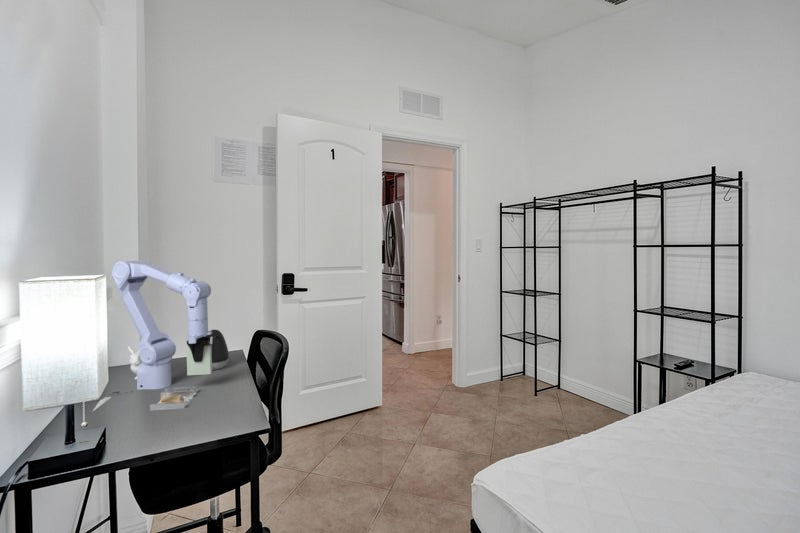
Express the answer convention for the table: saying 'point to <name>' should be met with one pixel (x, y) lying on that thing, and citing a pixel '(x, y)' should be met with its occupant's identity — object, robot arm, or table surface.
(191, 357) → the pale green rectangular block
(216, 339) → the black egg shaped speaker
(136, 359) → the rabbit
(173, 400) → the offcut upper
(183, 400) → the offcut lower
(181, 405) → the rack
